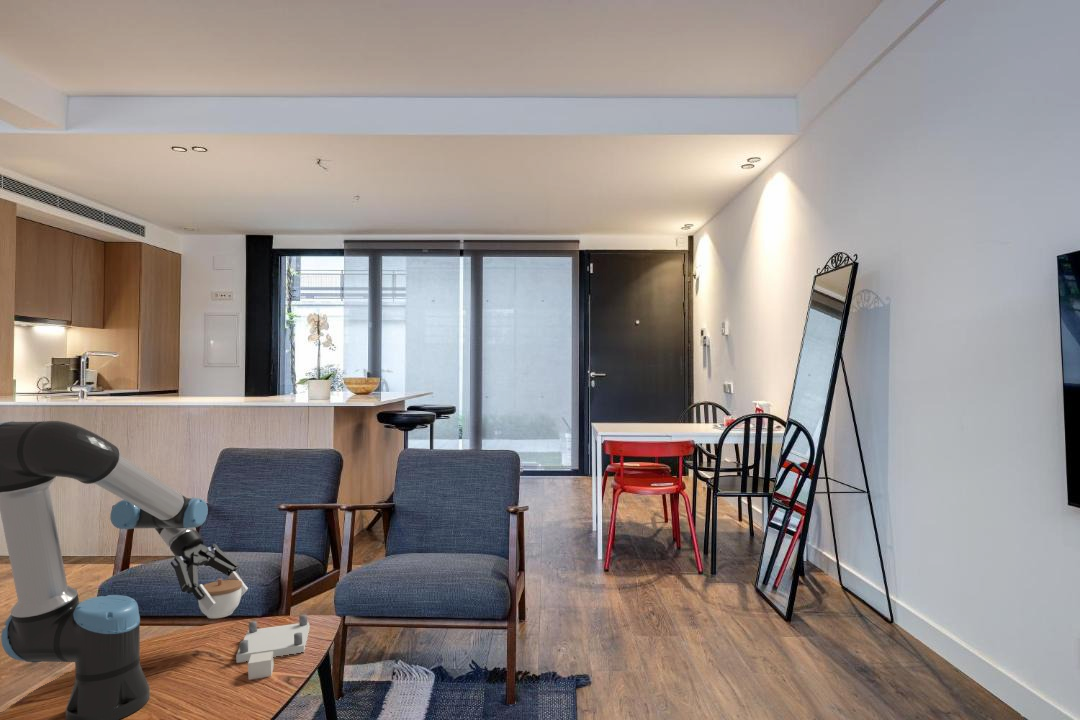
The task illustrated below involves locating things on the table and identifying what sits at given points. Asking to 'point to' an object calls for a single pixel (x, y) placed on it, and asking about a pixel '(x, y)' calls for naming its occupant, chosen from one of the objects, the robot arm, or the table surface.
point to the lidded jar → (222, 597)
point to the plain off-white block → (260, 665)
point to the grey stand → (274, 639)
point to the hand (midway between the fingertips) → (228, 599)
